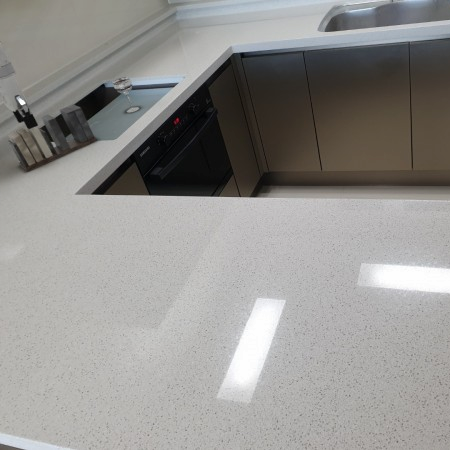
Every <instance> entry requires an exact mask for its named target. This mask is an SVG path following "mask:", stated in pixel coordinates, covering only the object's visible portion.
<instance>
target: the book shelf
mask: <svg viewBox="0 0 450 450" xmlns="http://www.w3.org/2000/svg"><path fill="white" fill-rule="evenodd" d="M59 112H60V114H61V116H62V117H63V120H64V122H65V124H66V126H67V128H68V130H69V131H70V134H71V137H72V139H70V140H67V138H66V137H65V134H64V132H63V131H62V129H61V127H60V124H59V123H58V121H57V119H56V117H54V116H52V115H50V114H45V115H43V116H41V117H40V118H41V120H42V122H43V124H44V126H45V128H46V129H47V131H48V133H49V135H50V137H49V135H48V133H47V132H46V131H45V130H43V129H42V128H40V127H37V128H38V129H39V130H40V132H41V134H42V136H43V138H44V140H45V142H46V143H47V145H48V147H49V149H50V151H51V153H52V155H53V156H51V157H49V158H45V157H44V156H43V155H41V154H40V152H39V150H38V148H37V147H36V145H35V143H34V141H33V139H32V138H31V136H30V134H29V132H28V131H27V129H25V128H23V127H22V128H19V129H17V130H15V131H12V132H9V133H7V136H8V138H9V139H8V140H7V142H8V144H9V146H10V148H11V149H12V151H13V153H14V154H15V156H16V158H17V160H18V161H19V162H18V165H19V166H20V168H21V169H23V170H24V171H26V172H30V171H32V170H35V169H37V168H39V167H42V166H44V165H46V164H48V163H50V162H53V161H55V160H57V159H60V158H62V157H64V156H66V155H68V154H70V153H73V152H75V151H78V150H80V149H82V148H84V147H86V146H89V145H91V144H93V143H95V142H97V141H98V140H97V138H96V136H95V135H94V133H93V131H92V128H91V126H90V124H89V122H88V120H87V118H86V115H85V113H84V111H83V109H82V107H81V106H78V105H76V104H71V105H68V106H66V107H63V108H60V109H59ZM50 138H51V139H52V140H51V139H50ZM52 141H53V143H54V145H55V146H54V145H53V143H52Z"/></svg>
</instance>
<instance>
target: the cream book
mask: <svg viewBox="0 0 450 450" xmlns="http://www.w3.org/2000/svg"><path fill="white" fill-rule="evenodd" d="M38 128H39V127H38V126H36V127H34V128H31V129H28V128H27V127H26V126H25V130H26V131H28V132H29V134H30V136H31V138H32V139H33V141H34V143H35V145H36V147H37V148H38V150H39V152H40V154H41V155H43V156H44V157H45V158H49V157H51V156H53V155H52V153H51V151H50V149H49V147H48V145H47V143H46V142H45V140H44V138H43V136H42V134H41V132H40V130H39V129H38Z"/></svg>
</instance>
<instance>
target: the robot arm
mask: <svg viewBox="0 0 450 450" xmlns="http://www.w3.org/2000/svg"><path fill="white" fill-rule="evenodd" d="M16 74H17V71H16V70H15V68H14V65H13V63H12V62H11V59H10V58H9V56H8V54H7V52H6V49H5V48H4V46H3V44H2V42H1V41H0V98H1V100H2V101H3V104H4V106H5V107H6V109H9V111H12V113H13V115H14V117H15V119H16V121H17V123H19V124H21V123H24V126H25V128H26V127H27V128H28V129H31V128H34V127H38V126H39V124H38V121H37V120H36V118H35V116H34V114H33V112H32V111H31V109H30V108H29V106H30V103H29V102H28V100H27V98H26V96H25V94H24V92H23V90H22V88H21V86H20V84H19V82H18V81H17V78H16V77H15V76H14V75H16Z"/></svg>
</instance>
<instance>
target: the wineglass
mask: <svg viewBox="0 0 450 450" xmlns="http://www.w3.org/2000/svg"><path fill="white" fill-rule="evenodd" d="M112 84H113V88H114V90H115V91H116V92H117V93H119V94H121V95H122V94H123V95H125V96H126V98H127V101H128V103H129V105H130V108H129V109H128V110H126V113H134V112H136V111H138V110H140V107H138V106H135V107H134V106H133V105H132V102H131V100H130V99H131V98H130V96H129V94H130V92H131V91H132V89H133V81H132V80H131V77H130V76H122V77H119V78H116V79H114V80H112Z"/></svg>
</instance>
